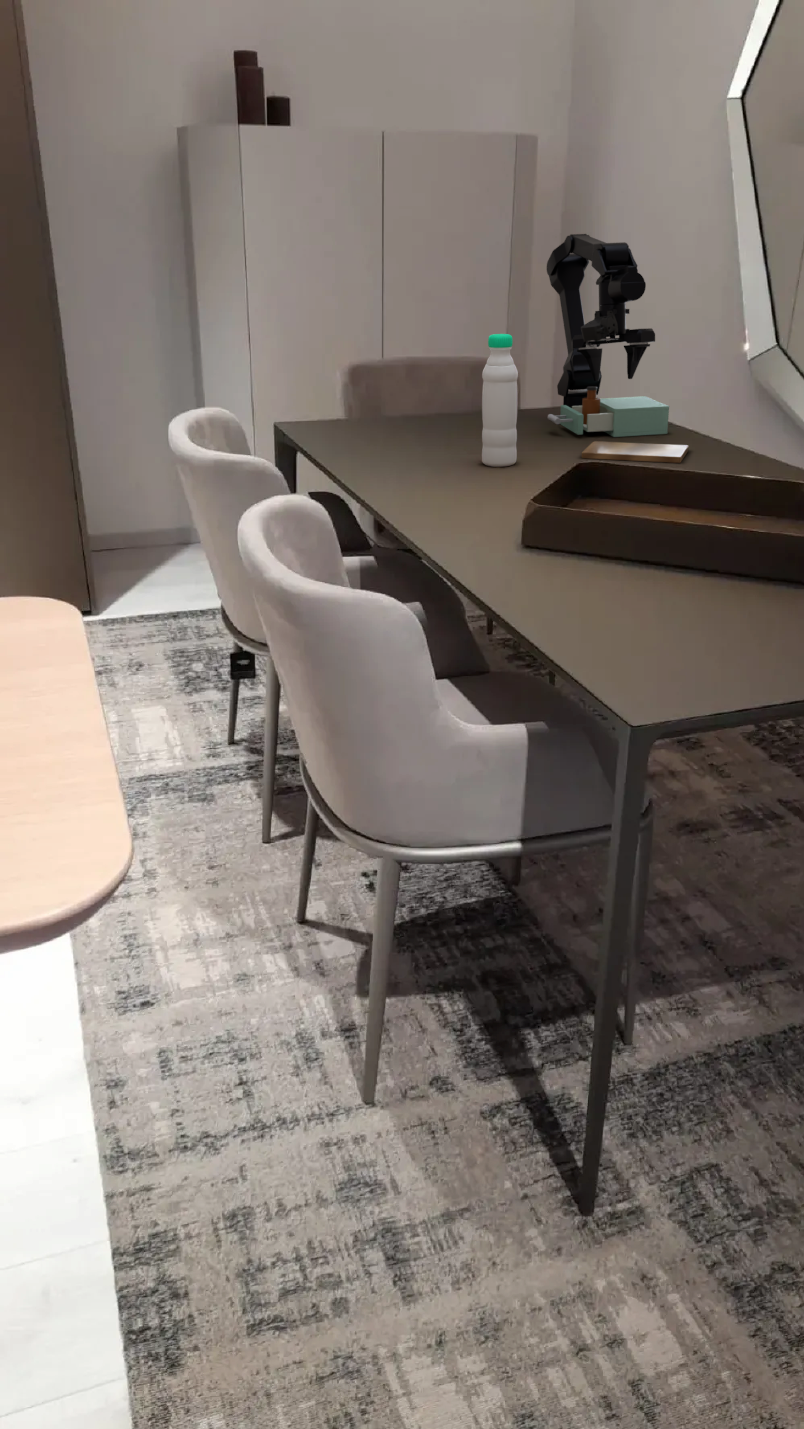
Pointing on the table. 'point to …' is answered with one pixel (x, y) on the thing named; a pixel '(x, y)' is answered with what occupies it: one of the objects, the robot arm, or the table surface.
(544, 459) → the table surface
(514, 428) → the water bottle
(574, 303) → the robot arm
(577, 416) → the drawer
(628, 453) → the board
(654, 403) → the cabinet
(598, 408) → the bottle
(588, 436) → the table surface
